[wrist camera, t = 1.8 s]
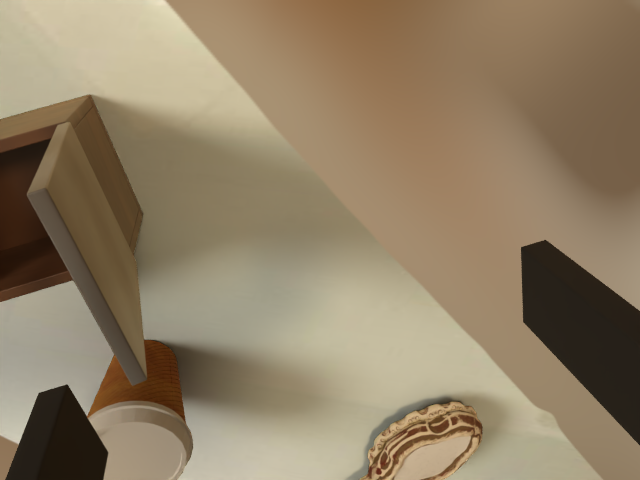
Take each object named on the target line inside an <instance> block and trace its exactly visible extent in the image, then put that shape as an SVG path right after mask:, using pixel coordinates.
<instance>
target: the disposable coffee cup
mask: <svg viewBox="0 0 640 480" xmlns="http://www.w3.org/2000/svg"><path fill="white" fill-rule="evenodd" d="M144 348H145V359H146V370H147V380H146V381H143V382H141V383H138V384H136V385H133V386H132V385H131V383H130V381H129V380H128V378H127V376H126V374H125V372H124V370H123V369H122V367H121V365H120V363H119V361H118V360H117V358H116V356H115V355H114V357H113V359H112V361H111V363H110V366H109V368H108V370H107V373H106V375H105V377H104V379H103V382H102V383H101V386H100V389H99V391H98V393H97V395H96V397H95V400H94V402H93V405H92V407H91V409H90V411H89V414H88V416H87V418H88V419H89V421H90V423H91V424H92V426H93V428H94V429H95V431H96V433H97V434H98V436H99V438H100V439H101V441H102V443H103V444H104V446H105V447H106V449H107V451H108V452H109V453H108V458H107V463H106V469H105V474H104V479H103V480H177V479H178V478H179V477H180V475H181V474H182V473H183V470H184V468H185V466H186V465H187V463H188V461H189V459H190V457H191V454H192V450H193V439H192V435H191V432H190V430H189V428H188V426H187V425H186V421H185V414H184V407H183V400H182V393H181V387H180V380H179V373H178V365H177V359H176V356H175V354H174V353H173V351H172V350H171V349H170V348H169V347H167V346H165V345H164V344H162V343H160V342H157V341H152V340H144Z"/></svg>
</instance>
